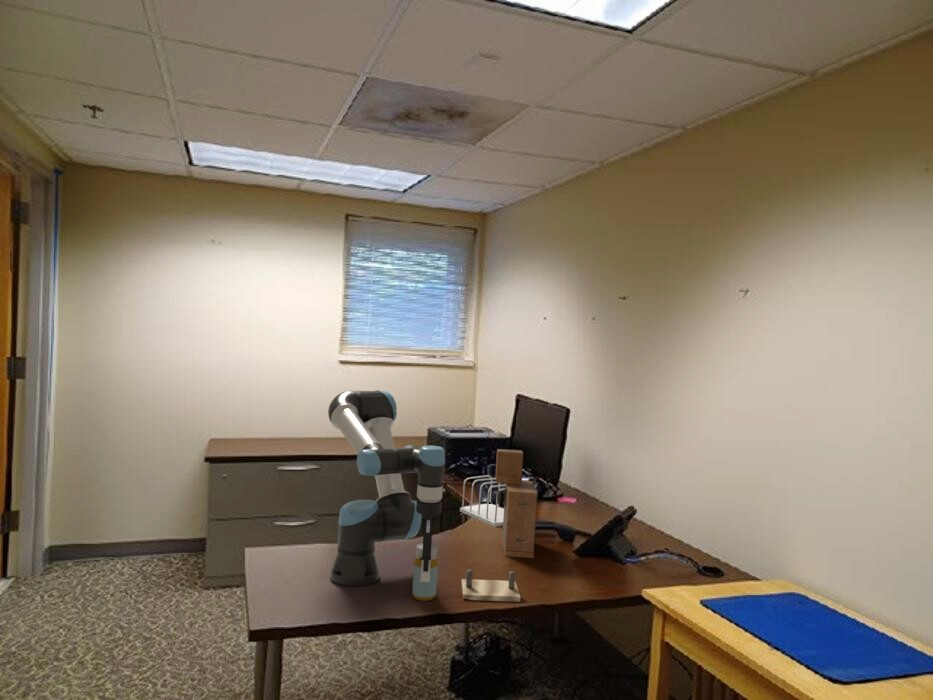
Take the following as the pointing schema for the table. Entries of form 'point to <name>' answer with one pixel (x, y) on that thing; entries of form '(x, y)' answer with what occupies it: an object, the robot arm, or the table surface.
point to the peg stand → (490, 589)
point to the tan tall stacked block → (516, 504)
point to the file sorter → (484, 505)
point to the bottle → (420, 589)
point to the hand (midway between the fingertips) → (425, 576)
